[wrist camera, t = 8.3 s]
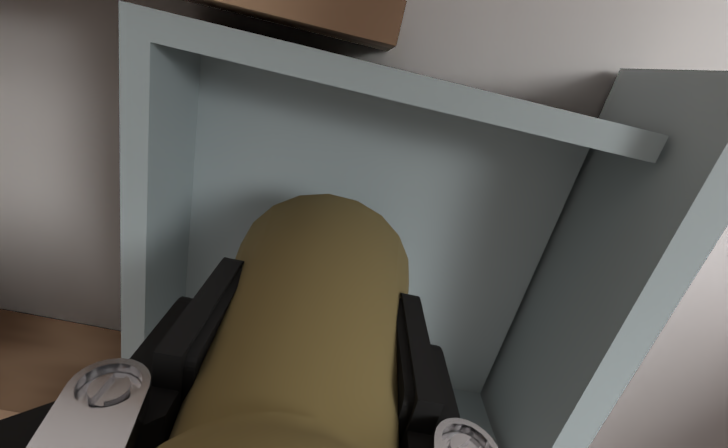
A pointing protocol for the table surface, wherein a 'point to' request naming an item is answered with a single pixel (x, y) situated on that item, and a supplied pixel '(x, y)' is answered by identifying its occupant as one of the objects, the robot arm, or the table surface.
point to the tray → (432, 203)
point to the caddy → (93, 344)
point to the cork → (305, 335)
